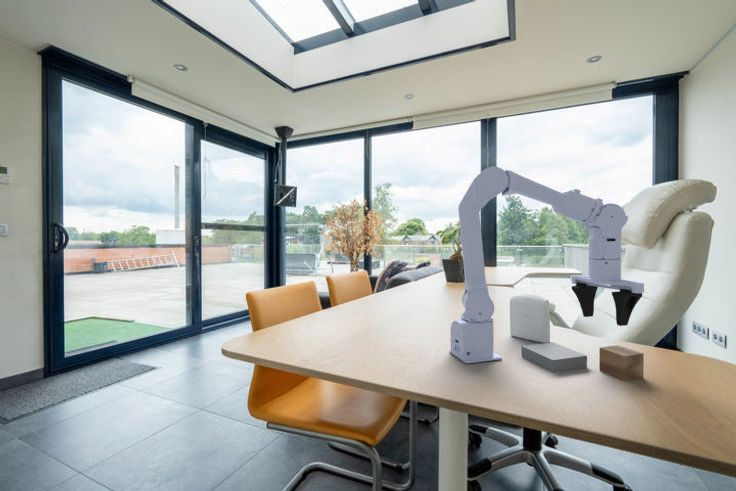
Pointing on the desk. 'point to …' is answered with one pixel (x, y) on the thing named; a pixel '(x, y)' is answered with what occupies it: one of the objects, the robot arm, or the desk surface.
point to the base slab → (554, 357)
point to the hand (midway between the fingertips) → (604, 320)
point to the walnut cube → (622, 362)
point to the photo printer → (530, 317)
